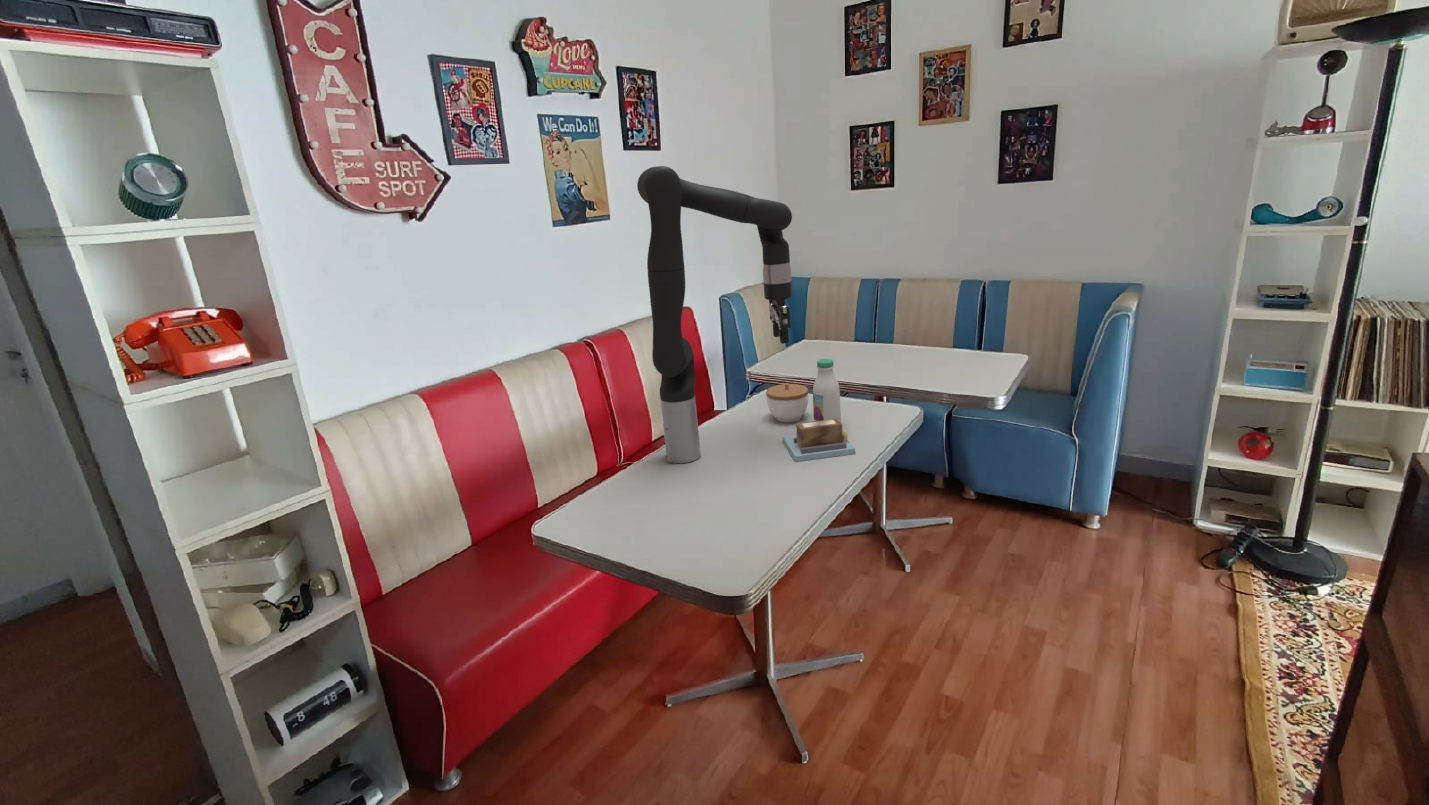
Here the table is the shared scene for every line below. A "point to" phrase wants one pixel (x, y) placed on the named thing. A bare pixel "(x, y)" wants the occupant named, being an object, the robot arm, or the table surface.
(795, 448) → the light blue flat tray
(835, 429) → the wooden block
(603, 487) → the table surface
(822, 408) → the milk bottle
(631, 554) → the table surface
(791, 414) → the lidded bowl
